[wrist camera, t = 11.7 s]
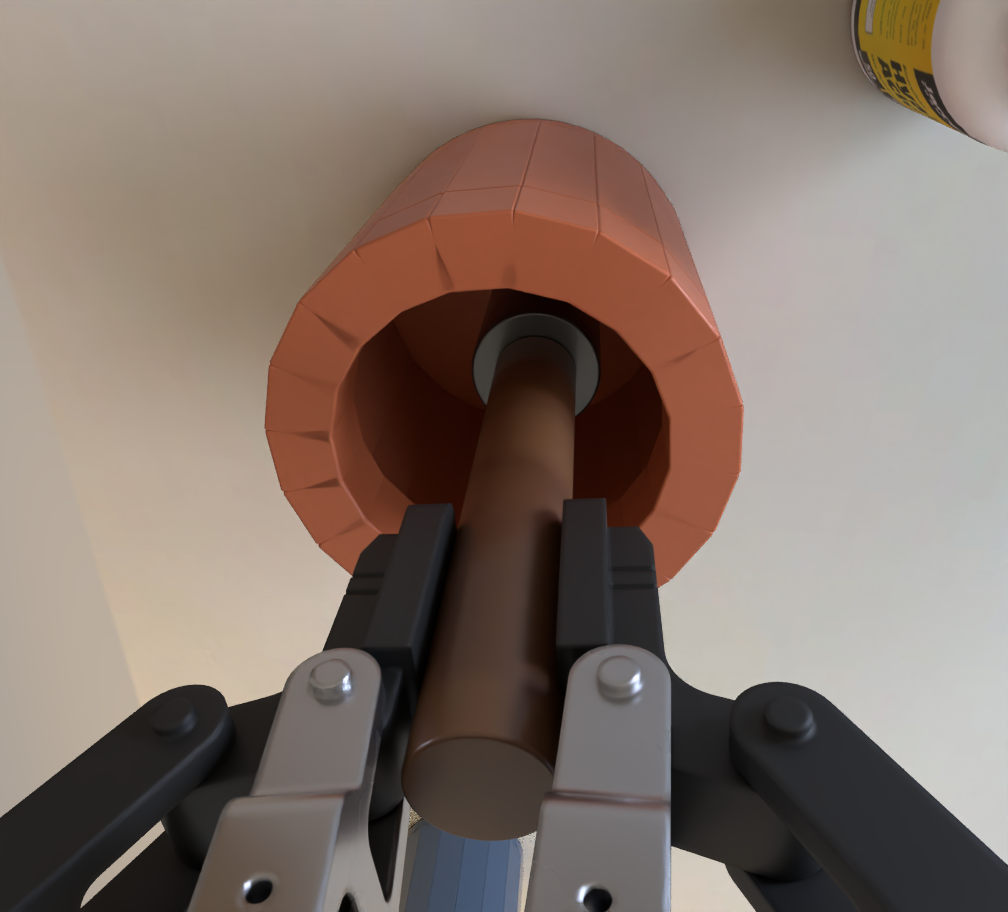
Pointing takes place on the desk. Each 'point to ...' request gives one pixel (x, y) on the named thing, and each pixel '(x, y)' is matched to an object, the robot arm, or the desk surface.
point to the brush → (505, 580)
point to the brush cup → (460, 873)
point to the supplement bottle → (939, 60)
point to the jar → (454, 333)
